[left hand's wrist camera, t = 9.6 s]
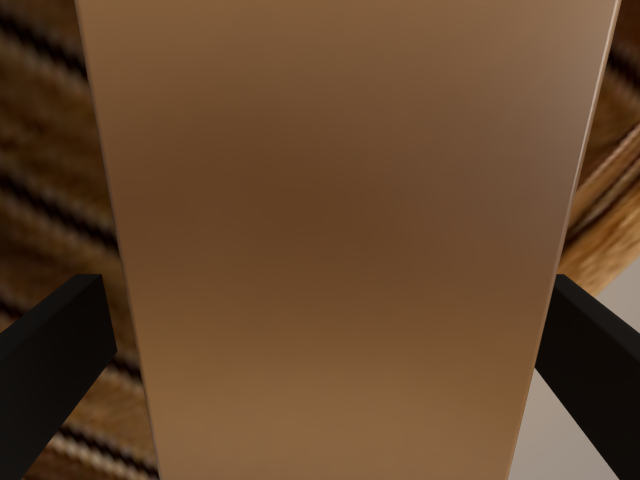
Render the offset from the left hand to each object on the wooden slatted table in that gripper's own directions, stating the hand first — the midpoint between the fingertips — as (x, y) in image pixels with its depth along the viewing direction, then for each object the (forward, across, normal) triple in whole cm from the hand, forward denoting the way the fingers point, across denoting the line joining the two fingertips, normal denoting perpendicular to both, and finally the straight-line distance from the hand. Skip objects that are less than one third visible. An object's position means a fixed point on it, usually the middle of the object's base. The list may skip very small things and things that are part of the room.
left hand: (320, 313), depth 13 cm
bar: (+2, 0, -10) cm, 10 cm away
